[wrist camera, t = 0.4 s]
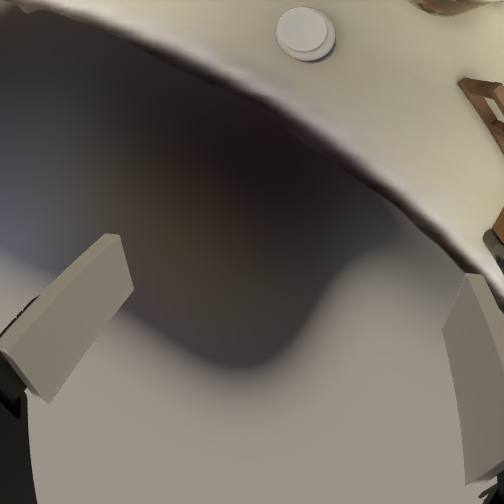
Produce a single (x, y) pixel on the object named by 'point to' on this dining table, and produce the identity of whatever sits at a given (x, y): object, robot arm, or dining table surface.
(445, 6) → the mug
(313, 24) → the pill bottle
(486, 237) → the fence
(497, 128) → the gate
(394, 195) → the dining table surface
